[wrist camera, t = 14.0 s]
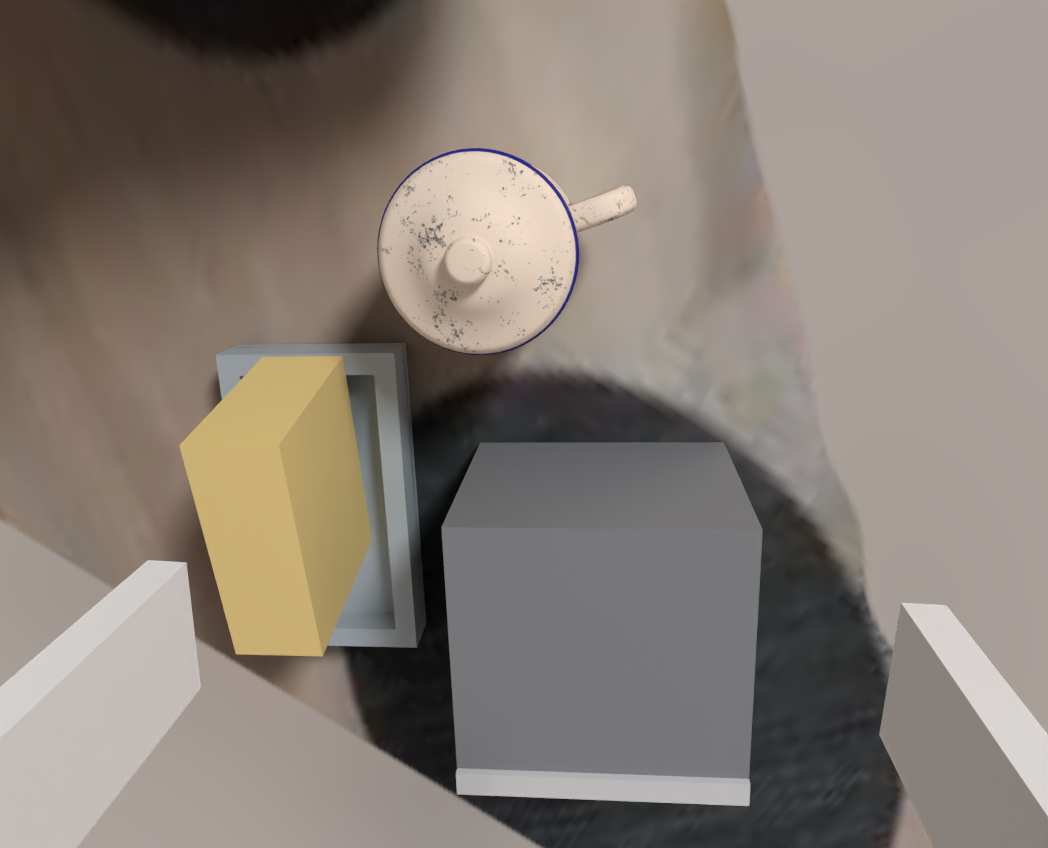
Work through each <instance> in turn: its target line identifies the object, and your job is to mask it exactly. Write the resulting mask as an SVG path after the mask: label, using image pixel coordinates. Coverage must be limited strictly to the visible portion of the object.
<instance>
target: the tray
mask: <svg viewBox="0 0 1048 848" xmlns="http://www.w3.org/2000/svg"><path fill="white" fill-rule="evenodd" d="M296 356H343V360H344V367H345V373H346V379H347V385H348V392H349V398H350V404H351V410H352V417H353V423H354V429H355V435H356V442H357V448H358V454H359V461H360V467H361V473H362V479H363V486H364V492H365V498H366V504H367V511H368V517H369V523H370V529H371V536H372V541H371V543H370V546H369V548H368V551H367V553H366V555H365V558H364V560H363V562H362V565H361V567H360V569H359V572H358V574H357V577H356V579H355V581H354V584H353V586H352V588H351V591H350V593H349V596H348V598H347V600H346V603H345V605H344V607H343V610H342V612H341V614H340V617H339V619H338V622H337V624H336V626H335V629H334V631H333V633H332V636H331V638H330V640H329V643H328V645H327V646H367V647H412V648H417V646H418V643H419V641H420V638H421V636H422V633H423V631H424V628H425V626H426V612H425V598H424V584H423V571H422V557H421V544H420V530H419V516H418V503H417V489H416V475H415V462H414V448H413V435H412V421H411V407H410V394H409V380H408V366H407V353H406V343H347V344H273V345H236V346H234V347H232V348H230V349H227V350H225V351H223V352H221V353H219V354H217V355H216V362H217V369H218V376H219V383H220V390H221V398H222V399H223V398H224V397H225V396H226V395H227V394H228V393H229V392H230V391H231V390H232V389H233V388H234V387H235V386H236V384H237V383H238V382H239V381H240V380H241V379H242V378H243V377H244V376H245V375H246V374H247V373H248V372H249V371H250V369H251V368H252V367H253V366H254V365H255V364H256V363H257V362H258V361H259V360H260V359H261V358H262V357H296Z"/></svg>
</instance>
